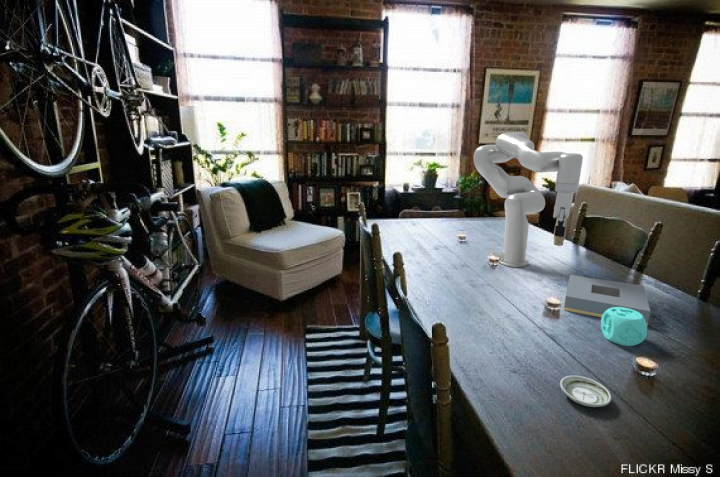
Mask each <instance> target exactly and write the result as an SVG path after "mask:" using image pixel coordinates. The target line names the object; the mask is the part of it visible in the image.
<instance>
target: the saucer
mask: <svg viewBox="0 0 720 477" xmlns="http://www.w3.org/2000/svg"><path fill="white" fill-rule="evenodd" d="M559 387H560V389H561V391H562V393H564V395H566V396H567V397H568V398H569V399H570V400H572V401H573V402H575V403H577V404H579V405H582V406H585V407H589V408H590V407H591V408H599V407H601V408H602V407H605V406H607V405H609V404H610V403H611V401H612V395H611V393H610V391H609V390H608V389H607V388H606V387H605V386H604V384H601V383H600V382H598V381H596V380H594V379H591V378H589V377H586V376H582V375H566V376H564V377H563V378H561V379H560V382H559Z"/></svg>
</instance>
